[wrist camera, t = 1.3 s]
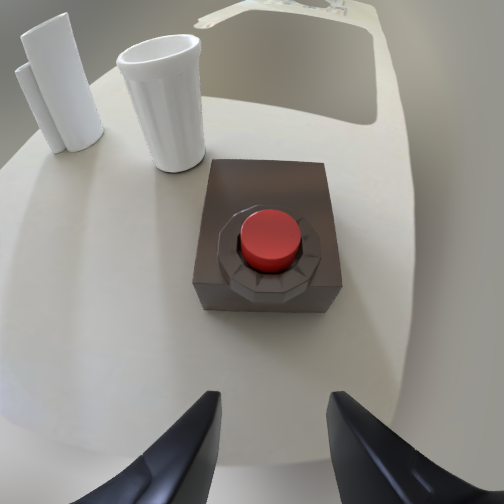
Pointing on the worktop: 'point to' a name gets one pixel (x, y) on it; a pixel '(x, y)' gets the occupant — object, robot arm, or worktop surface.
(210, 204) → the switch block
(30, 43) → the vase
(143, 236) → the worktop surface
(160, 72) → the cup
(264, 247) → the led button
